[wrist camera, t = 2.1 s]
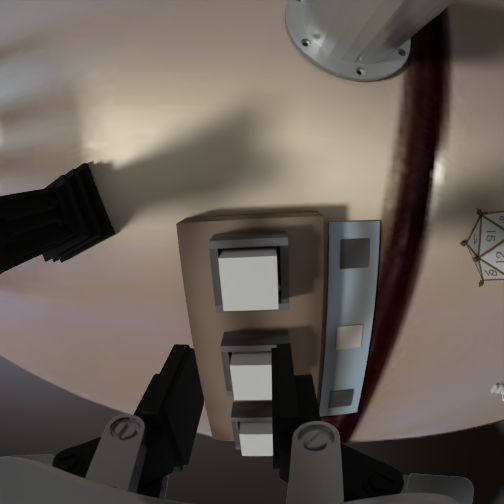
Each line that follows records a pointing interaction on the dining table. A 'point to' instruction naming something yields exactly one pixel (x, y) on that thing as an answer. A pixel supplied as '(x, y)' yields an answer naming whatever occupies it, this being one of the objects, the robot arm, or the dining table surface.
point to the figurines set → (498, 389)
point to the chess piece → (52, 220)
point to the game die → (488, 245)
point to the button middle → (251, 375)
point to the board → (282, 307)
